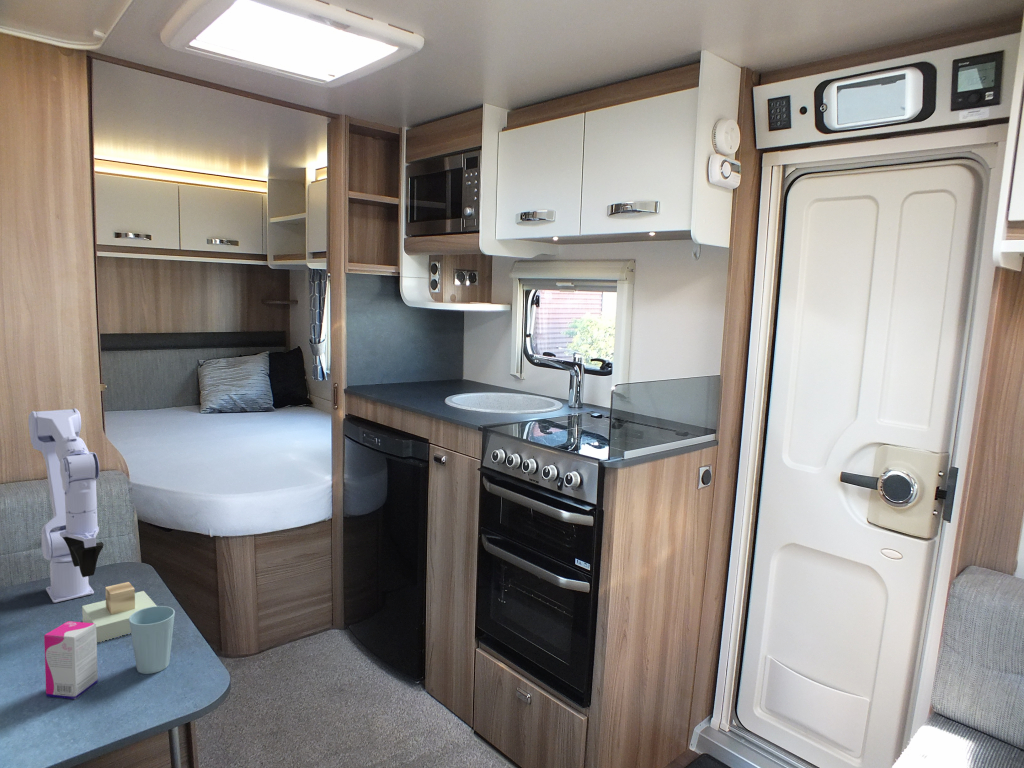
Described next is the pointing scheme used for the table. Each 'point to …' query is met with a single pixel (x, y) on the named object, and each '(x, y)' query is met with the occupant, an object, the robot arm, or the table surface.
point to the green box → (113, 617)
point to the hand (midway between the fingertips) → (83, 570)
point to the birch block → (120, 598)
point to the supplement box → (70, 659)
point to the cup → (152, 637)
